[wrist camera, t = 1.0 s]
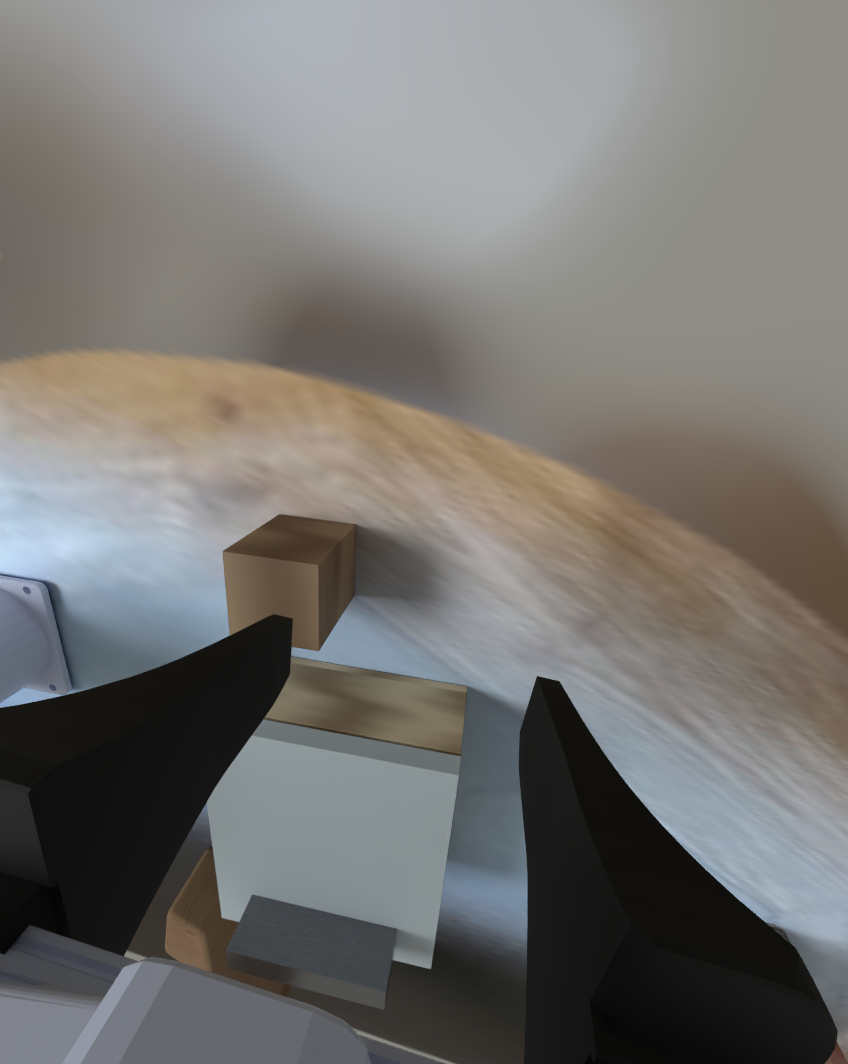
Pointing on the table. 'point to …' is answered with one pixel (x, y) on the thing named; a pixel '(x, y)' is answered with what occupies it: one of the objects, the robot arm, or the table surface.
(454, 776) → the toolbox lid
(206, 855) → the wooden block
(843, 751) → the table surface
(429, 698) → the brown piece
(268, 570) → the small brown block
